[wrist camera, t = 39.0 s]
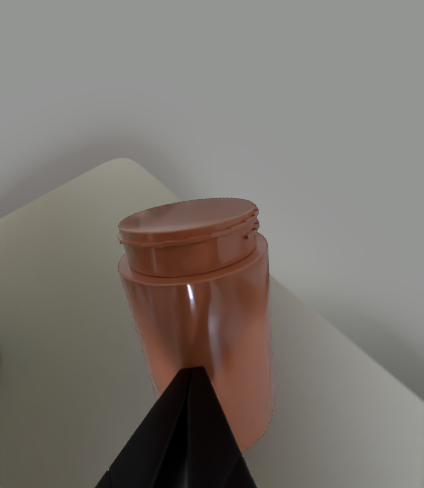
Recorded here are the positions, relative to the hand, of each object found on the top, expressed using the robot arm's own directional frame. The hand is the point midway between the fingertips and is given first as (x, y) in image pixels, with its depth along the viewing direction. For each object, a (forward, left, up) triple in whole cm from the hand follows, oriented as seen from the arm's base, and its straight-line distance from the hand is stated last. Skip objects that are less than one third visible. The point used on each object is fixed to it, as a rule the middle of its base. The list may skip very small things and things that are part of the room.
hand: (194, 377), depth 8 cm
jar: (0, -1, -6) cm, 6 cm away
